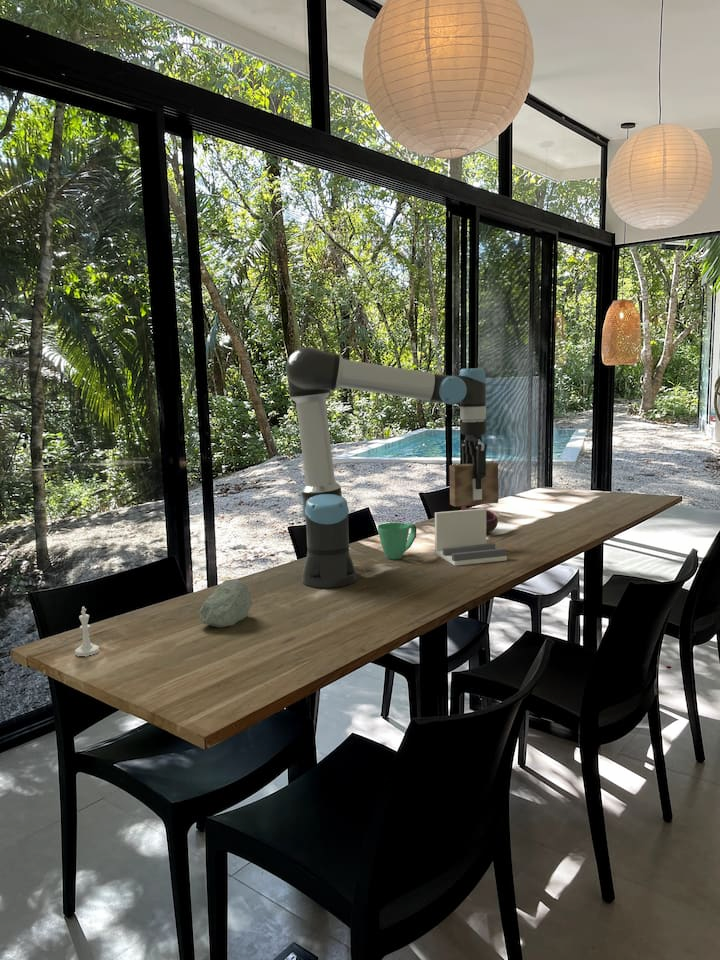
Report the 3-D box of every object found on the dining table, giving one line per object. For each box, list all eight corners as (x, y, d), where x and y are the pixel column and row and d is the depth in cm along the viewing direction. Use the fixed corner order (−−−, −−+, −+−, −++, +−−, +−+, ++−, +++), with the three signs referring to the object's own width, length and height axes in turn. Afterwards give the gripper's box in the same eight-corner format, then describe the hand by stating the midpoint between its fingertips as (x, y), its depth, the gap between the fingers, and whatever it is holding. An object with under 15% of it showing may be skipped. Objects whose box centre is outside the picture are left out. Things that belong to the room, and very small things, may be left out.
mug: (394, 563, 216) (393, 530, 214) (371, 557, 223) (371, 526, 221) (426, 553, 226) (426, 522, 224) (403, 548, 233) (403, 518, 231)
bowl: (504, 531, 254) (504, 509, 253) (488, 538, 244) (488, 515, 243) (463, 526, 264) (463, 505, 262) (446, 533, 253) (446, 511, 252)
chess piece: (102, 647, 154) (98, 603, 153) (95, 656, 150) (91, 610, 148) (79, 648, 154) (75, 603, 153) (71, 657, 149) (67, 611, 148)
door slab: (455, 506, 211) (454, 466, 210) (450, 504, 215) (449, 465, 213) (498, 502, 215) (498, 463, 213) (492, 500, 219) (492, 462, 217)
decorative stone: (241, 608, 178) (214, 580, 175) (267, 600, 170) (240, 571, 167) (212, 648, 169) (184, 619, 166) (239, 642, 162) (210, 612, 159)
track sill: (454, 565, 211) (454, 522, 209) (434, 553, 226) (434, 512, 224) (506, 560, 216) (507, 517, 214) (483, 548, 231) (483, 508, 229)
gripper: (497, 421, 204) (498, 502, 208) (472, 418, 220) (473, 493, 224) (473, 423, 202) (474, 504, 206) (450, 419, 218) (451, 494, 222)
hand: (474, 498), depth 215 cm, fingers closed on door slab, 4 cm apart
